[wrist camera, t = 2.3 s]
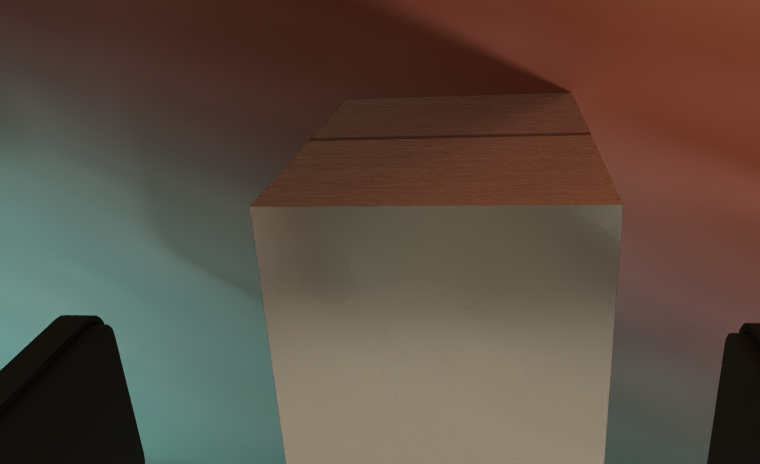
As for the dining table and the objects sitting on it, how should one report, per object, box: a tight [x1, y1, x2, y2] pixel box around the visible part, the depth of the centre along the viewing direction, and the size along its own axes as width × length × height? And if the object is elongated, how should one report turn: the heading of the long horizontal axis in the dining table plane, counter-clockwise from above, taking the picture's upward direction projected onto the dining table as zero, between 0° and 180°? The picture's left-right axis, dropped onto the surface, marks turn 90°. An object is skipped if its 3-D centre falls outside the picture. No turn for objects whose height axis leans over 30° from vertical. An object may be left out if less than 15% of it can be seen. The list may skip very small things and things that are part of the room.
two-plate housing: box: [250, 92, 623, 464], centre depth 14 cm, size 5×7×7 cm
